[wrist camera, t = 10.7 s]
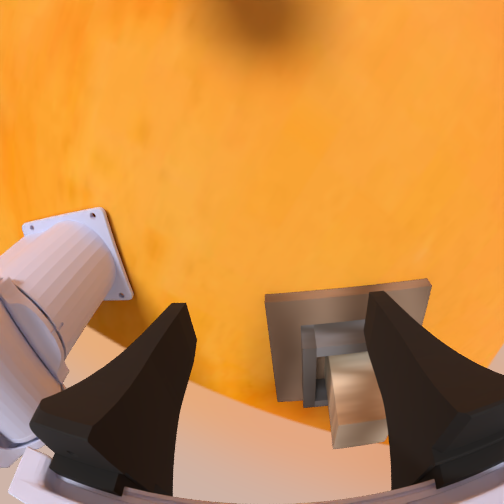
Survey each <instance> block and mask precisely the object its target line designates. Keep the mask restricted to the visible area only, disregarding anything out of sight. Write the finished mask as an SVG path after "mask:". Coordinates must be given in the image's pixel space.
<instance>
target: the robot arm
mask: <svg viewBox="0 0 504 504" xmlns="http://www.w3.org/2000/svg"><path fill="white" fill-rule="evenodd" d="M92 213H94V214H95V215H96V217H94V216H93V214H92ZM22 230H23V233H24V237H23V238H22V239H20V240H19V241H18V242H17V243H15V244H14V245H13V246H12V247H10V248H9V249H8V250H7V251H6V252H4V253H3V254H2V255H1V256H0V467H1V468H8V467H10V466H11V465H12V464H13V463H14V462H15V461H16V460H17V459H18V458H19V457H21V456H22V455H23V456H22V459H21V461H20V463H19V466H18V468H17V470H16V473H15V475H14V478H13V480H12V482H11V485H10V487H9V490H8V492H9V494H10V495H12V496H14V497H15V498H17V499H18V500H20V501H22V502H23V503H25V504H234V503H220V502H209V501H200V500H192V499H184V498H178V497H173V465H174V452H175V442H176V434H177V427H178V420H179V414H180V409H181V405H182V401H183V398H184V394H185V390H186V387H187V384H188V380H189V377H190V373H191V370H192V366H193V362H194V357H195V350H196V342H197V338H196V335H195V332H194V329H193V325H192V322H191V318H190V315H189V312H188V308H187V305H186V303H172V304H171V305H170V306H168V308H167V309H166V310H165V311H164V312H163V313H162V314H161V315H160V316H159V317H158V318H157V319H156V320H155V321H154V322H153V323H152V324H151V325H150V326H149V327H148V328H147V329H146V330H145V331H144V332H143V334H142V335H140V336H139V337H138V338H137V339H136V340H135V341H134V342H133V343H132V344H131V345H130V346H129V347H128V348H127V349H126V350H124V352H122V353H121V354H120V355H119V356H117V357H116V358H115V359H114V360H112V361H111V362H110V363H108V364H107V365H106V366H104V367H103V368H101V369H100V370H98V371H97V372H95V373H94V374H92V375H91V376H89V377H88V378H86V379H84V380H82V381H81V382H79V383H77V384H75V385H73V386H71V387H69V388H67V389H66V387H65V386H64V384H63V382H64V380H65V378H66V376H67V375H68V373H69V369H68V368H67V366H66V364H65V359H66V357H67V355H68V354H69V352H70V350H71V349H72V347H73V346H74V344H75V342H76V341H77V339H78V338H79V336H80V334H81V333H82V331H83V330H84V328H85V327H86V325H87V324H88V322H89V321H90V319H91V318H92V316H93V315H94V313H95V311H96V310H97V309H98V307H99V306H100V304H101V303H102V301H103V300H131V299H132V297H133V295H134V294H133V291H132V288H131V286H130V283H129V280H128V278H127V275H126V272H125V269H124V267H123V264H122V261H121V258H120V255H119V252H118V249H117V246H116V243H115V240H114V237H113V234H112V231H111V228H110V225H109V222H108V218H107V215H106V212H105V210H104V209H103V208H101V207H96V208H90V209H85V210H80V211H76V212H71V213H66V214H61V215H57V216H52V217H48V218H43V219H39V220H35V221H30V222H26V223H24V224H23V225H22ZM121 293H122V294H123V295H122V294H121ZM363 331H364V336H365V341H366V346H367V351H368V355H369V358H370V361H371V364H372V367H373V370H374V373H375V376H376V380H377V383H378V386H379V389H380V392H381V396H382V400H383V404H384V409H385V415H386V421H387V428H388V436H389V445H390V457H391V482H392V483H391V484H392V485H391V486H392V487H391V491H387V492H382V493H377V494H372V495H366V496H362V497H355V498H348V499H342V500H333V501H324V502H313V503H299V504H504V375H502V374H499V373H496V372H494V371H492V370H490V369H487V368H485V367H483V366H481V365H479V364H477V363H475V362H473V361H471V360H469V359H468V358H466V357H464V356H462V355H461V354H459V353H457V352H456V351H454V350H453V349H451V348H450V347H448V346H447V345H446V344H444V343H443V342H441V341H440V340H439V339H437V338H436V337H435V336H433V335H432V334H431V333H430V332H428V331H427V330H426V329H425V328H424V327H422V326H421V325H420V324H419V323H418V322H417V321H416V320H414V319H413V318H412V317H411V316H410V315H409V314H408V313H407V312H406V311H405V310H404V309H403V308H402V307H400V306H399V305H398V304H397V303H396V302H395V301H394V300H393V299H392V298H391V297H390V296H389V295H388V294H387V293H386V292H385V291H374V292H369V297H368V304H367V311H366V318H365V324H364V330H363ZM44 445H46V446H48V447H49V448H50V449H51V450H52V451H53V452H54V453H55V454H54V457H53V458H51V457H49V456H48V455H46V454H44V453H41V452H39V451H37V450H36V449H39V448H41V447H43V446H44Z"/></svg>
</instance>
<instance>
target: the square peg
mask: <svg viewBox="0 0 504 504" xmlns="http://www.w3.org/2000/svg"><path fill="white" fill-rule="evenodd" d="M324 375H325V383H326V391H327V399H328V407H329V416H330V425H331V435H332V445H333V449H339V448H347V447H354V446H361V445H367V444H373V443H379V442H384V441H385V439H386V437H387V435H388V428H387V421H386V415H385V409H384V404H383V400H382V396H381V392H380V389H379V386H378V383H377V380H376V376H375V373H374V370H373V367H372V364H371V361H370V358H369V355H368V351H366V352H359V353H351V354H342V355H333V356H325V365H324Z"/></svg>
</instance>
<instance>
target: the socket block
mask: <svg viewBox="0 0 504 504" xmlns="http://www.w3.org/2000/svg"><path fill="white" fill-rule="evenodd" d="M431 287H432V285H431V284H430V282H429V281H428V279H419V280H411V281H403V282H394V283H386V284H377V285H367V286H358V287H348V288H338V289H327V290H316V291H304V292H292V293H279V294H265V309H266V316H267V324H268V331H269V339H270V347H271V354H272V362H273V370H274V378H275V385H276V393H277V401H278V402H285V401H300V400H303V407H304V408H307V407H319V406H328V399H327V391H326V383H325V375H324V365H325V356H333V355H342V354H351V353H359V352H366V351H367V346H366V341H365V336H364V331H363V330H364V324H365V318H366V311H367V304H368V297H369V292H374V291H385V292H386V293H387V294H388V295H389V296H390V297H391V298H392V299H393V300H394V301H395V302H396V303H397V304H398V305H399V306H400V307H402V308H403V309H404V310H405V311H406V312H407V313H408V314H409V315H410V316H411V317H412V318H413V319H414V320H416V321H417V322H418V323H419V324H420V325H421V326H422V323H423V319H424V316H425V312H426V308H427V304H428V300H429V296H430V291H431Z"/></svg>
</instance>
